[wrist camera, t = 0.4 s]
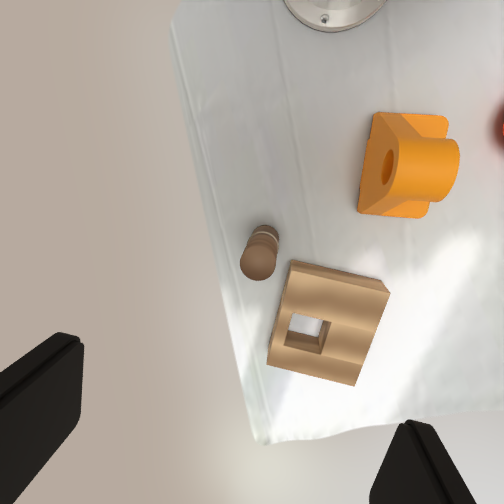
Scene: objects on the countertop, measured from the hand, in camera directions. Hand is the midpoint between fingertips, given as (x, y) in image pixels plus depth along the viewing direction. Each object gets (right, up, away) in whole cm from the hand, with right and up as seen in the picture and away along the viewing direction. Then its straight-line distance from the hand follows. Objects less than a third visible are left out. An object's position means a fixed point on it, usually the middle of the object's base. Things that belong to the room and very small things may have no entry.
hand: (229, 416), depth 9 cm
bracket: (+17, +15, +27) cm, 36 cm away
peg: (+2, +7, +31) cm, 32 cm away
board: (+10, -4, +34) cm, 35 cm away
